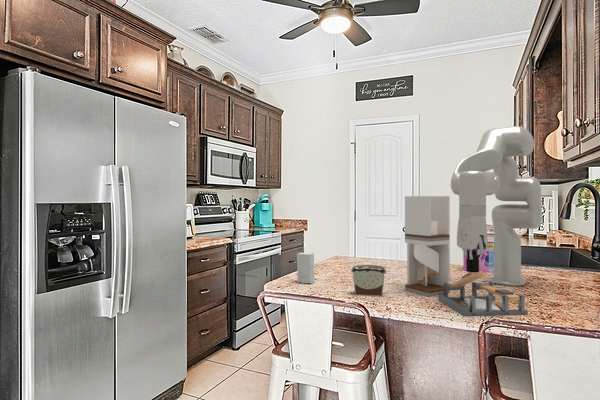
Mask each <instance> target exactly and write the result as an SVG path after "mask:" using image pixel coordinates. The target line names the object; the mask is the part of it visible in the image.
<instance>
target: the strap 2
mask: <svg viewBox="0 0 600 400" xmlns="http://www.w3.org/2000/svg"><path fill="white" fill-rule="evenodd" d="M476 283H477V291H478V290H481V291H485V292H490V293H493V295H496V296H498V297H501V298H502V295H507V296H508V301H518V300H520V297H519V296H518V295H516V294H514V292H513V291H510V290H508V289H504V288H503V289H500V288H497V287H494V286H493V287H492V286H491V285H490V283H488V282H476Z"/></svg>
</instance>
